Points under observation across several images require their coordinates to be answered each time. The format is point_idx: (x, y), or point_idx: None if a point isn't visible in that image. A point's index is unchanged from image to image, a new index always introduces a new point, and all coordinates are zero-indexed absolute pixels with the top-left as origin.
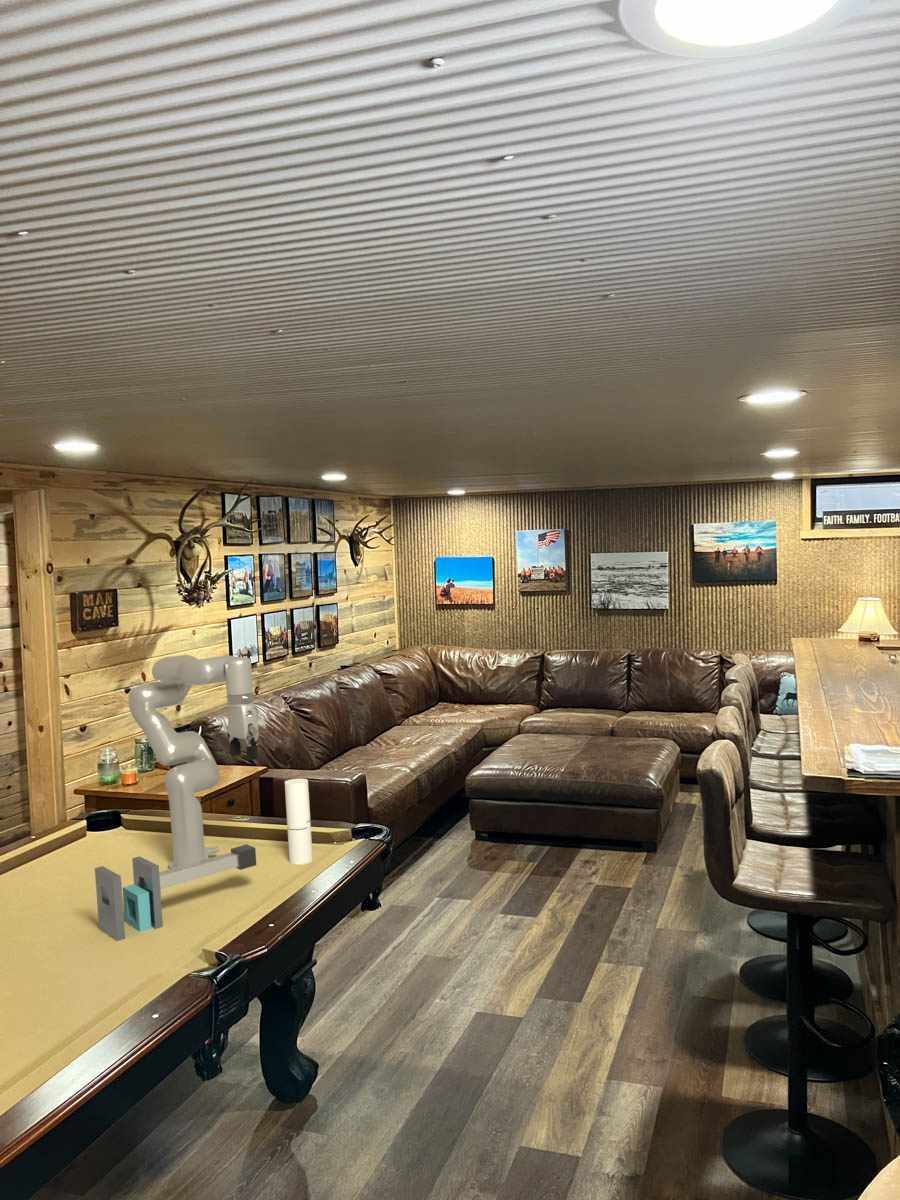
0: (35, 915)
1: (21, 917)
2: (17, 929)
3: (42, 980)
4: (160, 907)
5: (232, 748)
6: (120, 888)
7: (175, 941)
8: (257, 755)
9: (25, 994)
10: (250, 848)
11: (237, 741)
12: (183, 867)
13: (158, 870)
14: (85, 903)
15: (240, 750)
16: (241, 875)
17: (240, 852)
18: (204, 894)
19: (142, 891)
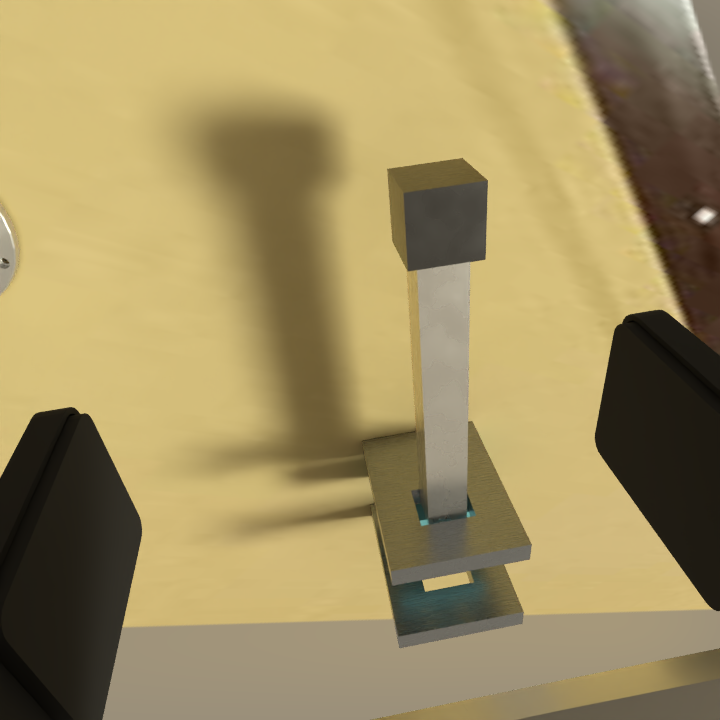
0: (187, 594)
1: (182, 611)
2: (254, 614)
3: (529, 586)
4: (488, 456)
5: (112, 628)
6: (511, 584)
7: (575, 417)
8: (687, 331)
9: (556, 601)
10: (478, 202)
11: (2, 689)
12: (445, 439)
13: (525, 533)
14: (172, 524)
15: (70, 462)
16: (207, 108)
17: (484, 254)
18: (323, 286)
19: (468, 516)
